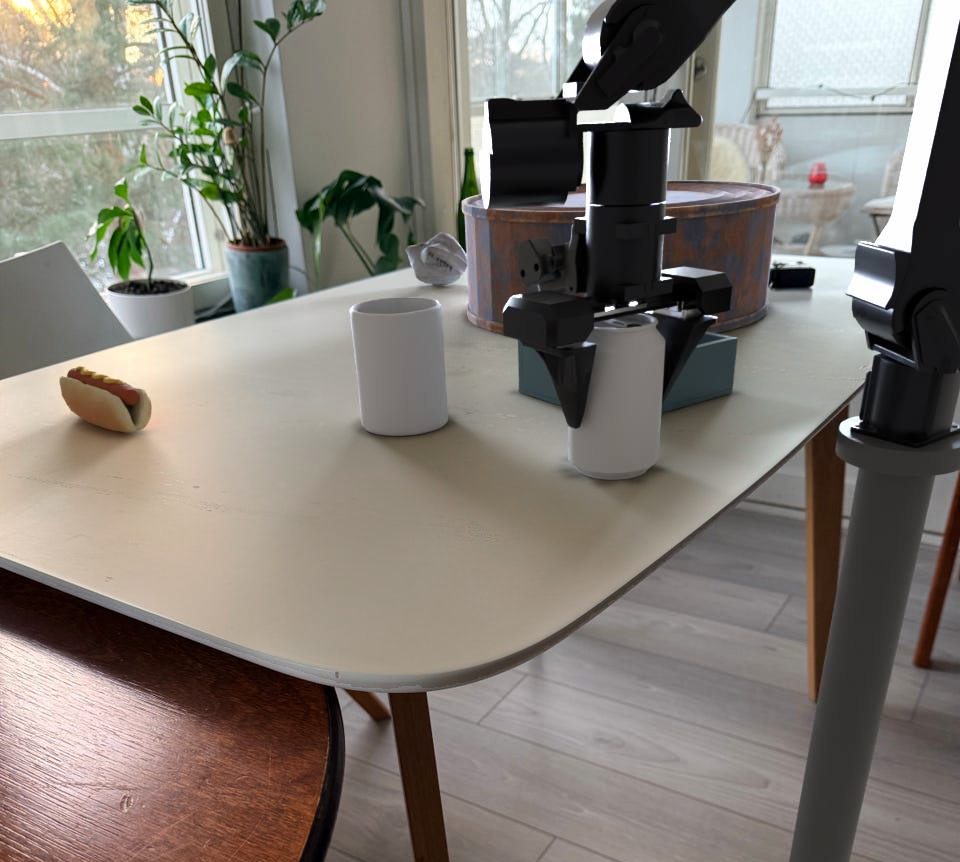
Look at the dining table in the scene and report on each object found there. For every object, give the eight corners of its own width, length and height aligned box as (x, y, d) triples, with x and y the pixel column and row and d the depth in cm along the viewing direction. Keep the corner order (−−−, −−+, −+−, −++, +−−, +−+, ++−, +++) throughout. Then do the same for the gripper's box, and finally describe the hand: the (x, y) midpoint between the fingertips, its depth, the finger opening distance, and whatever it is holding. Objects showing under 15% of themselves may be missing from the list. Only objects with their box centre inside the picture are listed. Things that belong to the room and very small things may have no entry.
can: (635, 489, 71) (643, 331, 65) (551, 475, 75) (550, 324, 69) (671, 459, 77) (681, 311, 71) (591, 447, 80) (594, 305, 74)
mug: (431, 438, 84) (422, 315, 79) (347, 433, 87) (333, 313, 81) (471, 402, 94) (465, 290, 88) (394, 398, 96) (385, 289, 91)
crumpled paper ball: (399, 289, 154) (395, 238, 150) (413, 280, 161) (410, 231, 157) (463, 288, 152) (461, 236, 147) (474, 279, 159) (472, 229, 155)
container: (631, 273, 157) (634, 176, 150) (835, 307, 126) (852, 187, 118) (414, 308, 138) (405, 200, 131) (589, 359, 107) (592, 220, 99)
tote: (732, 393, 93) (738, 337, 90) (619, 425, 85) (621, 366, 83) (626, 365, 104) (628, 315, 101) (518, 392, 96) (517, 338, 94)
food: (56, 416, 96) (43, 368, 93) (106, 404, 99) (94, 358, 97) (115, 443, 87) (102, 391, 85) (168, 428, 91) (156, 378, 88)
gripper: (641, 187, 76) (632, 375, 84) (455, 207, 67) (465, 416, 75) (746, 194, 68) (725, 401, 76) (551, 218, 59) (550, 451, 67)
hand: (616, 415), depth 73 cm, fingers closed on can, 9 cm apart
